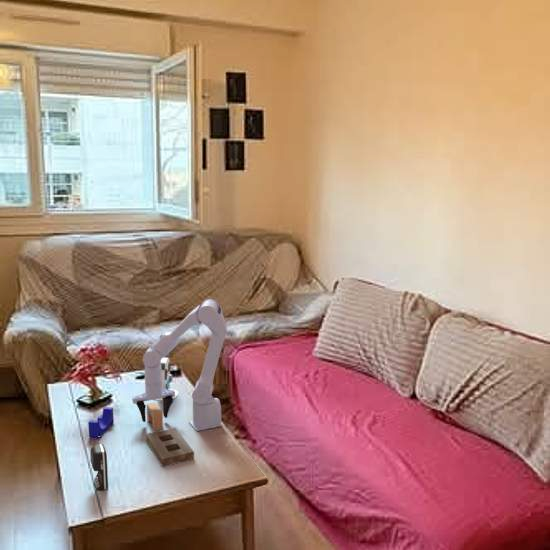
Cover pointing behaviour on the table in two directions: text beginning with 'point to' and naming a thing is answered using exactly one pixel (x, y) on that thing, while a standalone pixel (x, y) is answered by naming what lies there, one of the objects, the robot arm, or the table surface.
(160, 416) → the prong clip
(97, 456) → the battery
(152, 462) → the table surface
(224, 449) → the table surface
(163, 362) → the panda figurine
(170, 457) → the brown board with holes
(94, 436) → the blue cradle block
